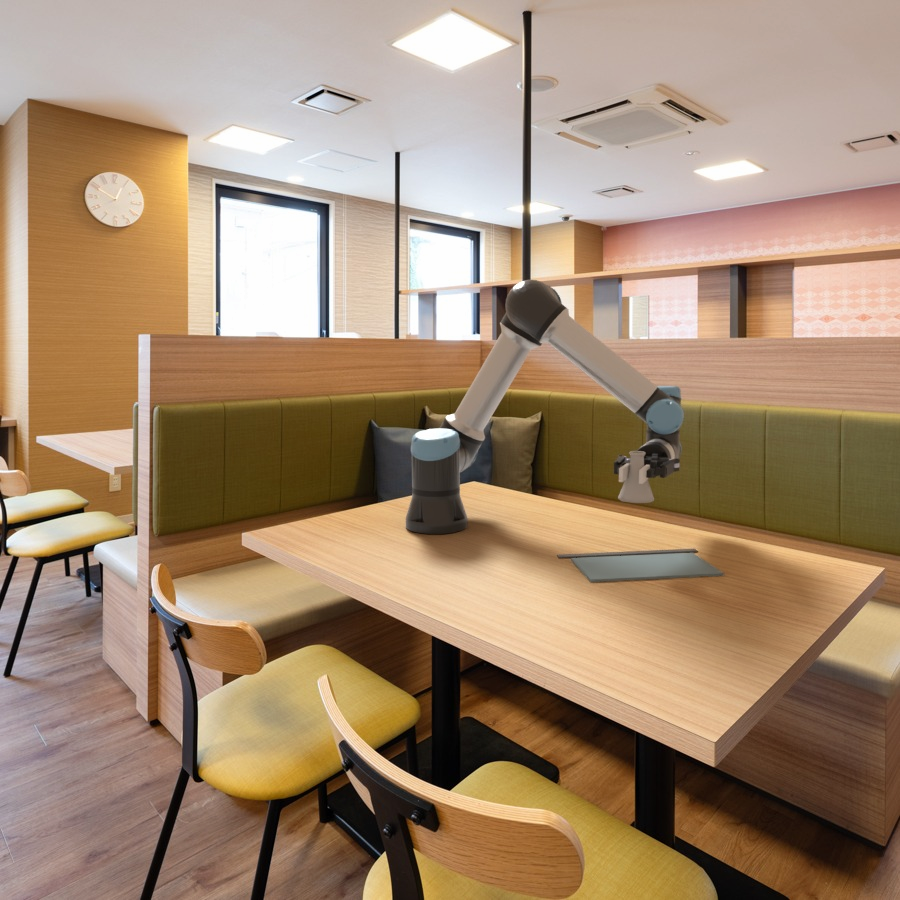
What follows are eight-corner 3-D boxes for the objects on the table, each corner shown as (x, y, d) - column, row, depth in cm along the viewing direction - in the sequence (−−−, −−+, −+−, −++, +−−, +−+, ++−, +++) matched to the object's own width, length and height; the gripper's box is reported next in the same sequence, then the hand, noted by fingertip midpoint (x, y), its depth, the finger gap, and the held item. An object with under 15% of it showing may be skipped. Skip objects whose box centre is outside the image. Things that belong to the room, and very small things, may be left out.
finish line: (559, 558, 139) (559, 556, 139) (557, 555, 141) (557, 554, 141) (697, 552, 142) (697, 550, 142) (694, 549, 144) (694, 548, 144)
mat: (590, 582, 125) (590, 579, 125) (570, 560, 138) (570, 558, 138) (723, 575, 128) (724, 573, 128) (692, 554, 140) (692, 552, 140)
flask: (654, 497, 140) (656, 450, 138) (654, 505, 133) (655, 455, 131) (618, 495, 142) (620, 448, 140) (616, 503, 135) (617, 454, 133)
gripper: (691, 477, 149) (673, 498, 128) (617, 471, 156) (589, 491, 136) (692, 443, 148) (674, 459, 127) (618, 439, 155) (590, 454, 135)
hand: (630, 476), depth 132 cm, fingers closed on flask, 3 cm apart
